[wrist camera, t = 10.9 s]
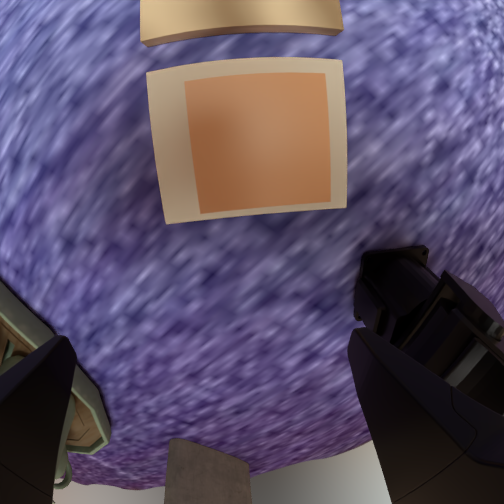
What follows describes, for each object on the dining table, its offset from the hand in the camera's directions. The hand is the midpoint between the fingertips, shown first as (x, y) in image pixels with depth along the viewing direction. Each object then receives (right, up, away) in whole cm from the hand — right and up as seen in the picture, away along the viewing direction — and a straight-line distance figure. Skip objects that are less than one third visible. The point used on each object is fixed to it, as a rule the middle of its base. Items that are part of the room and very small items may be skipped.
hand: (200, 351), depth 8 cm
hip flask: (-4, -28, +27) cm, 39 cm away
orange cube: (+2, +10, +8) cm, 13 cm away
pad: (+1, +10, +9) cm, 13 cm away
